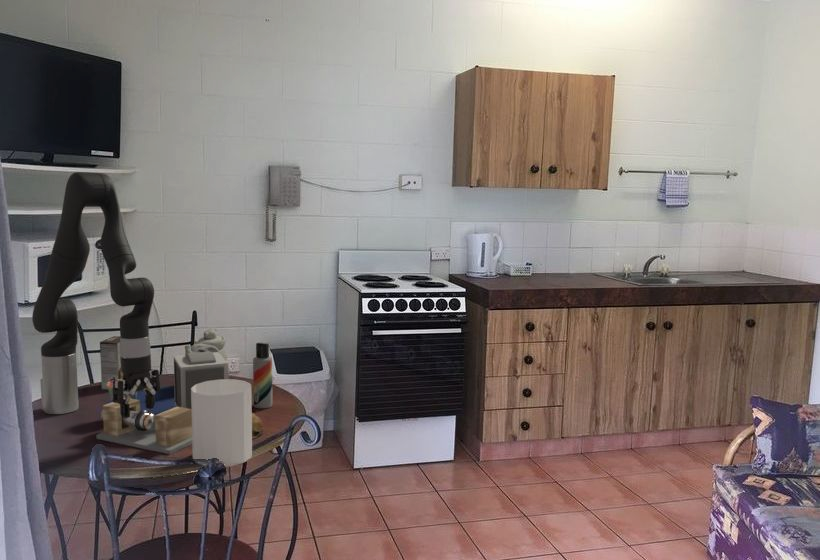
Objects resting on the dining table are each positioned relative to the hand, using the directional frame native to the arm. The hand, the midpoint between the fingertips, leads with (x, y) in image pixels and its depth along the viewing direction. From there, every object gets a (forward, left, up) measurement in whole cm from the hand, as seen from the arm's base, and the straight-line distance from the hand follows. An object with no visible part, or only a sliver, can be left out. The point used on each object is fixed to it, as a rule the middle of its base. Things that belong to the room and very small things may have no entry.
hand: (138, 412), depth 186 cm
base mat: (+4, 0, -7) cm, 8 cm away
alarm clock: (+2, +23, -7) cm, 24 cm away
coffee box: (-42, +33, -7) cm, 54 cm away
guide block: (-6, 0, -6) cm, 8 cm away
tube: (-3, 0, -5) cm, 6 cm away
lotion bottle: (+14, +37, -7) cm, 40 cm away
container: (+29, -1, -7) cm, 30 cm away
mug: (-15, +11, -7) cm, 20 cm away
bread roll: (+24, +14, -7) cm, 28 cm away
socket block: (+12, 0, -7) cm, 14 cm away
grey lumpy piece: (-17, +47, -7) cm, 51 cm away
